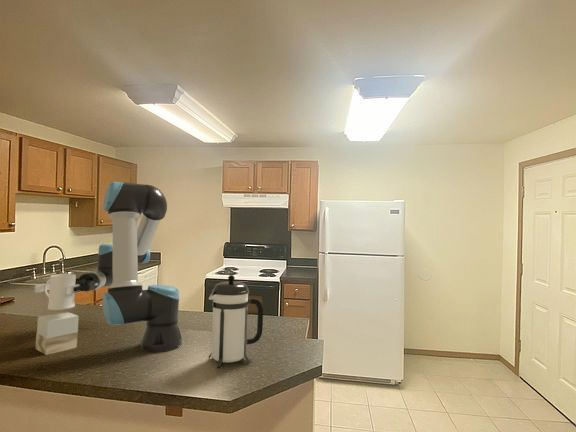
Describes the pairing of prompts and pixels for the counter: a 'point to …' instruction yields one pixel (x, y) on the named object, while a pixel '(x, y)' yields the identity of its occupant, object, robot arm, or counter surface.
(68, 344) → the block
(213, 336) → the coffee press
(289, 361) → the counter surface
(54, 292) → the mug
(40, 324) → the tower top
